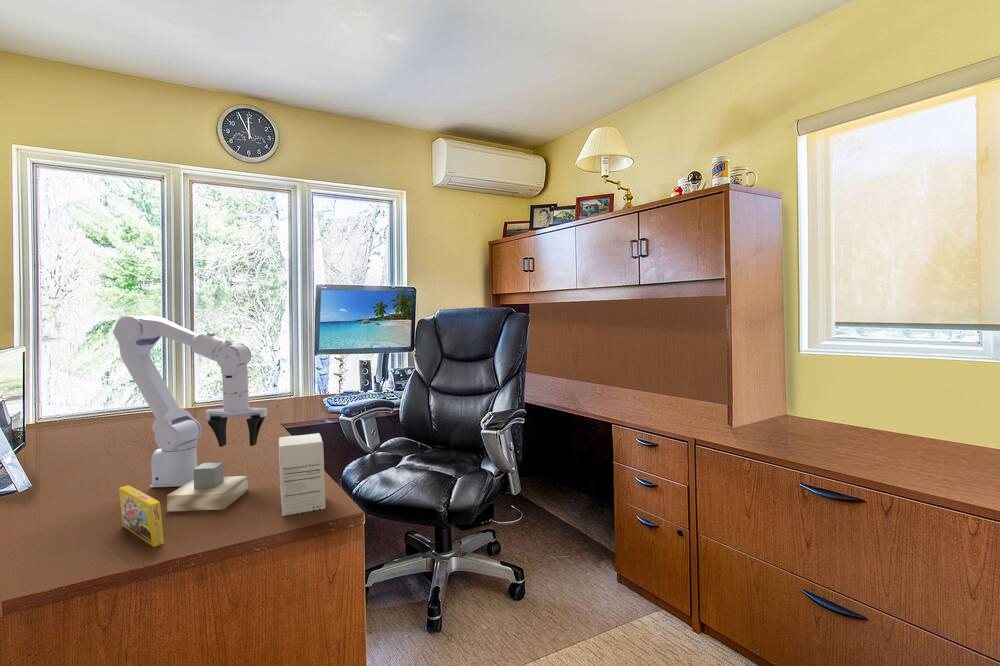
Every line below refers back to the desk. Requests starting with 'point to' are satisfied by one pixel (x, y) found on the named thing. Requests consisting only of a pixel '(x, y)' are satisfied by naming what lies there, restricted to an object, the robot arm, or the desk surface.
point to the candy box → (141, 515)
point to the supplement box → (301, 473)
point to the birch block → (207, 495)
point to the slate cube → (208, 475)
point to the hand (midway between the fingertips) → (238, 445)
